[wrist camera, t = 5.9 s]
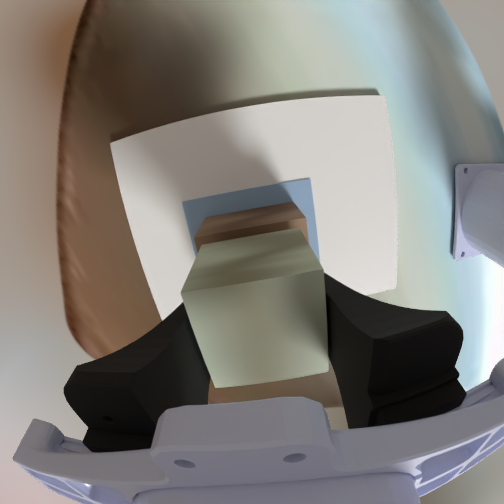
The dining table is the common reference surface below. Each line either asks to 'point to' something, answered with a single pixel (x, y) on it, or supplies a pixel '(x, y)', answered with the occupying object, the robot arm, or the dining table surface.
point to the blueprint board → (266, 185)
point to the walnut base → (251, 223)
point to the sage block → (258, 308)
